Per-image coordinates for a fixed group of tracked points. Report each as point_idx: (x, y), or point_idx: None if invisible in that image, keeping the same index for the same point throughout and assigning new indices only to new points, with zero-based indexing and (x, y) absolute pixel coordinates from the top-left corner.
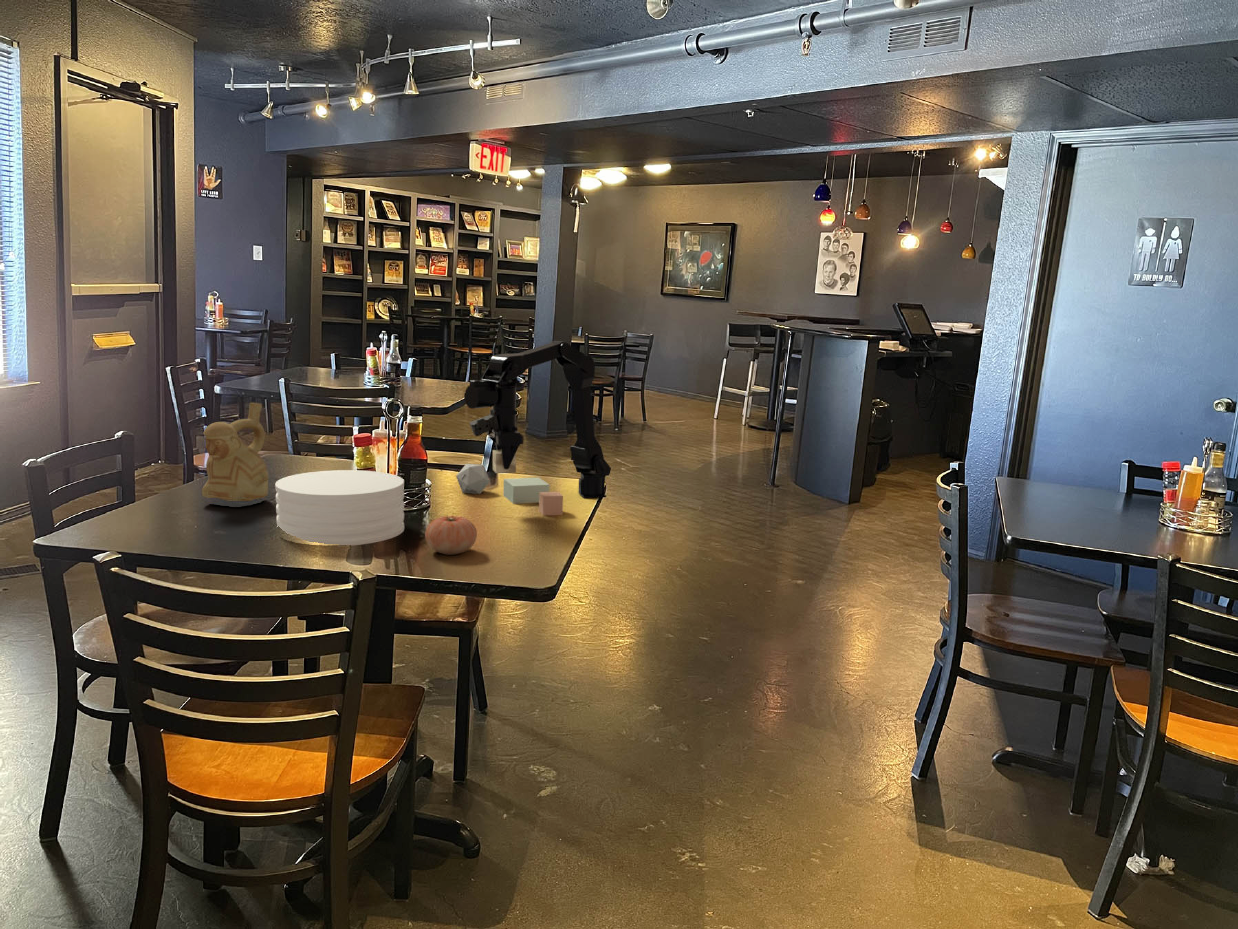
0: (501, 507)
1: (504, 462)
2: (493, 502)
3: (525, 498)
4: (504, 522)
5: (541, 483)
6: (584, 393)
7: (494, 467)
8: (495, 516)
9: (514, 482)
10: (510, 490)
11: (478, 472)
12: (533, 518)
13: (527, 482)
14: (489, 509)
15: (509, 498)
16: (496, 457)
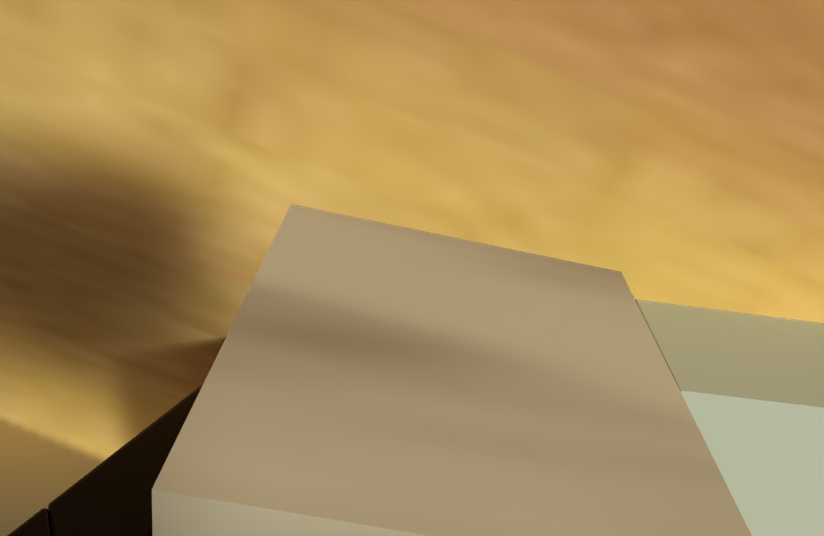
0: (570, 183)
1: (150, 437)
2: (760, 191)
3: None
4: (66, 5)
5: None
6: None
7: (450, 273)
8: (291, 15)
9: (809, 445)
10: (747, 363)
11: None
12: (167, 254)
13: (741, 512)
14: (552, 66)
15: (742, 322)
16: (200, 409)
